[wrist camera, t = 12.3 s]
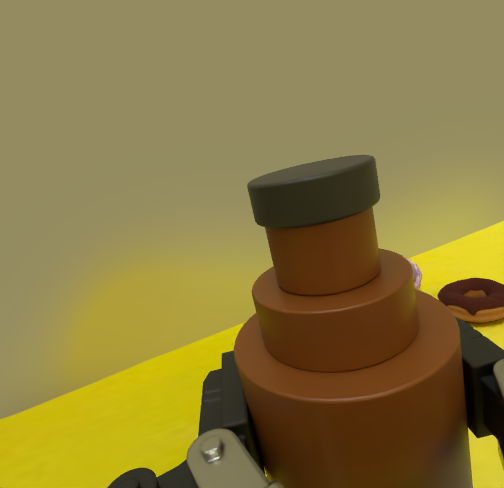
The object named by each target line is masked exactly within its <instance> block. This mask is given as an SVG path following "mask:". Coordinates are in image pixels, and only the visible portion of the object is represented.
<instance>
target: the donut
mask: <svg viewBox="0 0 504 488" xmlns="http://www.w3.org/2000/svg"><path fill="white" fill-rule="evenodd" d="M438 298H439V301H440V302H441V303H443V304H444V305H445V306H446V307H447V308H448V309H449V310H450V311H451V312H452V314H453V316H454V317H456V318H459V319H462V320H464V321H469V322H489V321H495V320H499V319H502V318H504V285H503V284H501V283H498V282H496V281H493V280H490V279H483V278H470V279H465V280H460V281H456V282H453V283H450V284H448V285H446V286H444V287H443V288H442V289H441V290H440V292H439V293H438Z"/></svg>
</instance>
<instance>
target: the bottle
mask: <svg viewBox="0 0 504 488" xmlns="http://www.w3.org/2000/svg"><path fill="white" fill-rule="evenodd" d="M247 187H248V192H249V196H250V200H251V205H252V209H253V213H254V218H255V221H256V223H257V224H258V225H260V226H263V227H265V229H266V233H267V238H268V243H269V247H270V251H271V256H272V261H273V265H274V266H273V267H272V268H270V269H269V270H267V271H266V272H264V273H263V274H262V275H261V276H260V277H259V278H258V279H257V280H256V281H255V283H254V285H253V289H252V296H253V300H254V304H255V308H256V312H257V313H256V314H254V315H253V316H252V317H251V318H250V319H249V320H248V321H247V322H246V323H245V324H244V325H243V327H242V328H241V330H240V331H239V333H238V335H237V338H236V341H235V345H234V358H235V362H236V366H237V369H238V373H239V377H240V380H241V384H242V387H243V391H244V395H245V398H246V402H247V406H248V409H249V413H250V416H251V420H252V424H253V427H254V431H255V435H256V438H257V442H258V445H259V449H260V453H261V456H262V460H263V464H264V467H265V471H266V474H267V478H268V480H269V481H270V482H272V481H274V480H277V481H278V482H279V483H280V484H281V485H282V486H283V487H284V488H473V485H472V473H471V461H470V449H469V437H468V425H467V413H466V401H465V390H464V378H463V366H462V354H461V342H460V330H459V326H458V323H457V321H456V319H455V317H454V316H453V314H452V312H451V311H450V310H449V309H448V308H447V307H446V306H445V305H444V304H443V303H441V302H440V301H439V300H438V299H436V298H434V297H432V296H431V295H429V294H426V293H424V292H422V291H420V290H417V289H415V286H414V277H413V269H412V266H411V264H410V262H409V261H408V260H407V259H406V258H404V257H403V256H402V255H400V254H397V253H395V252H392V251H388V250H384V249H378V243H377V236H376V229H375V222H374V215H373V208H372V206H374V205H375V204H376V203H377V202H378V201H379V199H380V191H379V184H378V176H377V169H376V162H375V159H374V157H373V156H369V155H356V156H346V157H339V158H333V159H327V160H322V161H317V162H312V163H307V164H303V165H299V166H295V167H290V168H287V169H283V170H279V171H276V172H272V173H269V174H266V175H263V176H260V177H258V178H256V179H254V180H252V181H250V182H249V183H248V186H247Z"/></svg>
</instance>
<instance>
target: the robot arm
mask: <svg viewBox="0 0 504 488" xmlns="http://www.w3.org/2000/svg"><path fill="white" fill-rule="evenodd" d="M455 319H456V321H457V323H458V326H459V330H460V342H461V354H462V366H463V378H464V390H465V401H466V413H467V425H468V428H469V429H470V430H471V431H472V432H473V434H474V435H475V436H476V437H477V438H481V437H485V436H489V435H494V436H495V437H496V438H497V440H498V452H499V456H500V459H501V462H502V466H503V469H504V350H503V349H501V348H500V347H499V346H497V345H496V344H494V343H493V342H492V341H490V340H489V339H488V338H486V337H485V336H483V335H482V334H481V333H480V332H478V331H477V330H476V329H475V330H474V329H473V327H471V326H470V325H469V324H467V323H466V322H465V321H463V320H462V319H459V318H456V317H455ZM202 394H203V395H202V401H201V403H202V404H201V412H200V423H199V433H198V438H197V439H196V440H195V441H194V442H193V443H192V444H191V446H190V447H189V449H188V452H187V459H186V460H185V461H184V462H183V463H181V464H180V465H179V466H177V467H175V468H174V469H172V470H170V471H168V472H166V473H164V474H162V475H160V476H159V477H156V475H155V473H154V472H153V471H152V470H150V469H148V468H137V469H133V470H130V471H128V472H126V473H124V474H122V475H121V476H119V477H118V478H116V479H115V480H114V481H113V482H112V483H111V484H110V485H109V486H108V488H284V487H283V486H282V485H281V484H280V483H279V482H278V481H277V480H274V481H272V482H270V481H269V480H268V479H267V477H266V476H265V470H264V464H263V460H262V456H261V453H260V449H259V445H258V442H257V438H256V435H255V431H254V427H253V424H252V420H251V416H250V413H249V409H248V406H247V402H246V398H245V395H244V391H243V387H242V384H241V380H240V377H239V373H238V369H237V366H236V362H235V358H234V351H230V352H226V353H222V369H218V370H214V371H210V372H209V374H208V375H207V377H206V379H205V380H204V382H203V390H202Z"/></svg>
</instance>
